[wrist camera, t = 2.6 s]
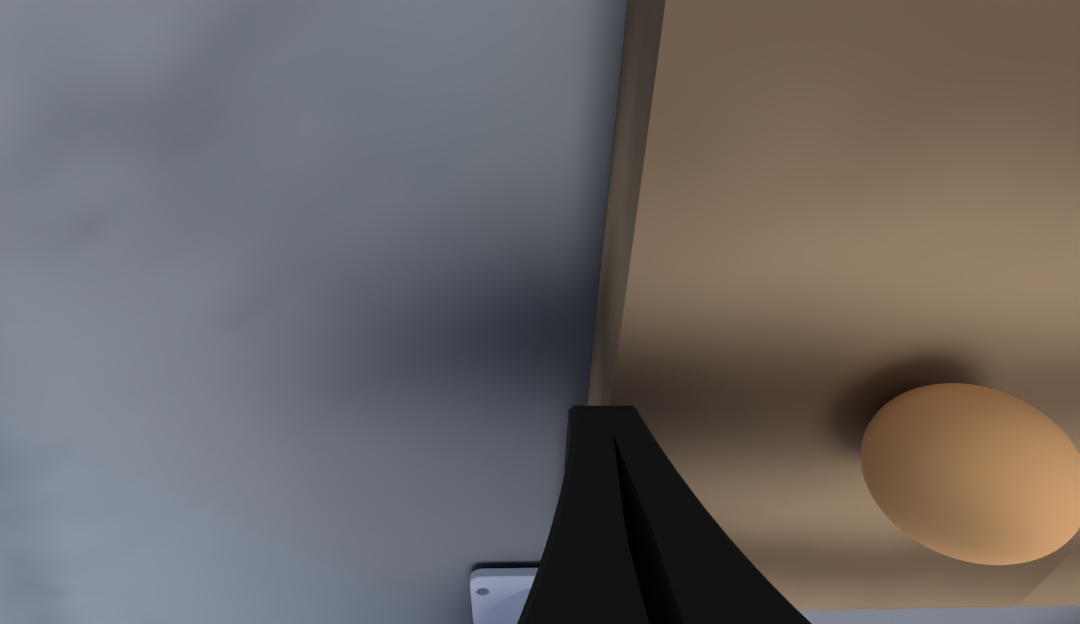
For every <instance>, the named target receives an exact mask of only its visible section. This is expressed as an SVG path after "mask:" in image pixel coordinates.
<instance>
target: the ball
mask: <svg viewBox="0 0 1080 624" xmlns="http://www.w3.org/2000/svg"><path fill="white" fill-rule="evenodd" d="M860 457H861V467H862V472H863V476H864V480H865V482H866V485H867V487H868V489H869V492H870V494H871V496H872V497H873V499H874V500H875V502H876V504H877V505H878V506H879V508H880V509H881V510H882V512H883V513H884V514H885V515H886V516H887V518H888V519H889V520H890V521H892V522H893V523H894V524H895V525H896V526H897V527H898V528H899V529H900V530H901V531H903V532H904V533H905V534H907V535H908V536H909V537H911V538H912V539H914V540H915V541H917V542H919V543H920V544H922V545H924V546H926V547H927V548H929V549H932V550H934V551H936V552H938V553H940V554H943V555H946V556H949V557H952V558H955V559H958V560H962V561H966V562H971V563H976V564H986V565H1010V564H1019V563H1025V562H1029V561H1033V560H1036V559H1039V558H1042V557H1044V556H1047V555H1049V554H1051V553H1052V552H1054V551H1056V550H1058V549H1059V548H1061V547H1062V546H1063V545H1064V544H1065V543H1067V542H1068V541H1069V540H1070V539H1071V538H1072V537H1073V536H1074V535H1075V534H1076V532H1077V531H1078V529H1079V528H1080V454H1079V452H1078V450H1077V449H1076V447H1075V446H1074V444H1073V443H1072V441H1071V440H1070V439H1069V437H1068V436H1067V435H1066V434H1065V433H1064V431H1063V430H1062V429H1061V428H1060V427H1059V426H1058V425H1057V424H1055V423H1054V422H1053V421H1052V420H1051V419H1050V418H1049V417H1047V416H1046V415H1045V414H1044V413H1042V412H1041V411H1039V410H1038V409H1036V408H1035V407H1033V406H1031V405H1030V404H1028V403H1026V402H1024V401H1022V400H1020V399H1018V398H1016V397H1014V396H1012V395H1009V394H1007V393H1004V392H1001V391H998V390H995V389H991V388H987V387H983V386H978V385H971V384H963V383H942V384H933V385H928V386H923V387H919V388H915V389H912V390H909V391H907V392H905V393H902V394H900V395H898V396H897V397H895V398H893V399H892V400H890V401H889V402H888V403H886V404H885V405H884V406H883V407H882V408H881V409H880V410H879V411H878V412H877V413H876V414H875V415H874V417H873V418H872V420H871V421H870V423H869V424H868V426H867V428H866V431H865V433H864V436H863V440H862V445H861V455H860Z"/></svg>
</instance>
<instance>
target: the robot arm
mask: <svg viewBox="0 0 1080 624" xmlns="http://www.w3.org/2000/svg"><path fill="white" fill-rule="evenodd" d="M564 470H565V474H564V479H563V484H562V489H561V493H560V497H559V501H558V505H557V508H556V512H555V515H554V519H553V523H552V526H551V530H550V533H549V537H548V540H547V543H546V546H545V549H544V552H543V555H542V558H541V561H540V564H539V567H538V568H483V569H477V570H475V571H473V572H472V573H471V576H470V593H471V604H472V615H473V624H811V623H810V622H809V621H808V620H807V619H806V618H805V617H804V616H803V615H802V614H801V613H800V612H799V611H798V610H797V609H796V608H795V607H794V606H793V605H792V604H791V603H790V602H789V601H788V600H787V599H786V598H785V597H784V596H783V595H782V594H781V593H780V592H779V591H778V590H777V589H776V588H775V587H774V586H773V585H772V584H771V583H770V582H769V581H768V580H767V579H766V577H765V576H764V575H763V574H762V573H761V572H760V571H759V570H758V569H757V568H756V567H755V566H754V565H753V564H752V562H751V561H750V560H749V559H748V558H747V557H746V556H745V555H744V554H743V552H742V551H741V550H740V549H739V548H738V547H737V546H736V544H735V543H734V542H733V541H732V540H731V539H730V538H729V536H728V535H727V534H726V533H725V532H724V530H723V529H722V528H721V527H720V526H719V524H718V523H717V522H716V521H715V519H714V518H713V517H712V516H711V515H710V513H709V512H708V511H707V510H706V508H705V507H704V506H703V505H702V503H701V502H700V501H699V499H698V498H697V497H696V496H695V494H694V493H693V491H692V490H691V489H690V487H689V486H688V485H687V483H686V482H685V481H684V479H683V478H682V477H681V475H680V474H679V473H678V471H677V470H676V469H675V467H674V466H673V464H672V463H671V461H670V460H669V459H668V457H667V456H666V454H665V453H664V451H663V450H662V448H661V447H660V445H659V444H658V442H657V441H656V439H655V438H654V436H653V435H652V433H651V432H650V430H649V428H648V427H647V425H646V424H645V422H644V420H643V419H642V417H641V415H640V414H639V412H638V410H637V409H636V408H635V407H634V406H633V405H624V406H573V407H572V408H571V409H569V414H568V428H567V441H566V455H565V468H564Z"/></svg>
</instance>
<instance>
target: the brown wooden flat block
mask: <svg viewBox="0 0 1080 624" xmlns="http://www.w3.org/2000/svg"><path fill="white" fill-rule="evenodd" d="M942 383H963V384H971V385H978V386H983V387H987V388H991V389H995V390H998V391H1001V392H1004V393H1007V394H1009V395H1012V396H1014V397H1016V398H1018V399H1020V400H1022V401H1024V402H1026V403H1028V404H1030V405H1031V406H1033V407H1035V408H1036V409H1038V410H1039V411H1041V412H1042V413H1044V414H1045V415H1046V416H1047V417H1049V418H1050V419H1051V420H1052V421H1053V422H1054V423H1055V424H1057V425H1058V426H1059V427H1060V428H1061V429H1062V430H1063V431H1064V433H1065V434H1066V435H1067V436H1068V437H1069V439H1070V440H1071V441H1072V443H1073V444H1074V446H1075V447H1076V449H1077V450H1078V452H1079V454H1080V0H628V6H627V16H626V25H625V35H624V45H623V55H622V65H621V74H620V84H619V94H618V104H617V114H616V124H615V133H614V143H613V153H612V163H611V173H610V183H609V192H608V202H607V212H606V222H605V232H604V242H603V251H602V261H601V271H600V281H599V291H598V301H597V310H596V320H595V330H594V340H593V350H592V359H591V369H590V379H589V389H588V399H587V406H624V405H633V406H634V407H635V408H636V409H637V410H638V412H639V414H640V415H641V417H642V419H643V420H644V422H645V424H646V425H647V427H648V428H649V430H650V432H651V433H652V435H653V436H654V438H655V439H656V441H657V442H658V444H659V445H660V447H661V448H662V450H663V451H664V453H665V454H666V456H667V457H668V459H669V460H670V461H671V463H672V464H673V466H674V467H675V469H676V470H677V471H678V473H679V474H680V475H681V477H682V478H683V479H684V481H685V482H686V483H687V485H688V486H689V487H690V489H691V490H692V491H693V493H694V494H695V496H696V497H697V498H698V499H699V501H700V502H701V503H702V505H703V506H704V507H705V508H706V510H707V511H708V512H709V513H710V515H711V516H712V517H713V518H714V519H715V521H716V522H717V523H718V524H719V526H720V527H721V528H722V529H723V530H724V532H725V533H726V534H727V535H728V536H729V538H730V539H731V540H732V541H733V542H734V543H735V544H736V546H737V547H738V548H739V549H740V550H741V551H742V552H743V554H744V555H745V556H746V557H747V558H748V559H749V560H750V561H751V562H752V564H753V565H754V566H755V567H756V568H757V569H758V570H759V571H760V572H761V573H762V574H763V575H764V576H765V577H766V579H767V580H768V581H769V582H770V583H771V584H772V585H773V586H774V587H775V588H776V589H777V590H778V591H779V592H780V593H781V594H782V595H783V596H784V597H785V598H786V599H787V600H788V601H789V602H790V603H791V604H792V605H793V606H794V607H795V608H796V609H797V610H852V609H906V608H960V607H1014V606H1068V605H1080V528H1079V529H1078V531H1077V532H1076V534H1075V535H1074V536H1073V537H1072V538H1071V539H1070V540H1069V541H1068V542H1067V543H1065V544H1064V545H1063V546H1062V547H1061V548H1059V549H1058V550H1056V551H1054V552H1052V553H1051V554H1049V555H1047V556H1044V557H1042V558H1039V559H1036V560H1033V561H1029V562H1025V563H1019V564H1010V565H986V564H976V563H971V562H966V561H962V560H958V559H955V558H952V557H949V556H946V555H943V554H940V553H938V552H936V551H934V550H932V549H929V548H927V547H926V546H924V545H922V544H920V543H919V542H917V541H915V540H914V539H912V538H911V537H909V536H908V535H907V534H905V533H904V532H903V531H901V530H900V529H899V528H898V527H897V526H896V525H895V524H894V523H893V522H892V521H890V520H889V519H888V518H887V516H886V515H885V514H884V513H883V512H882V510H881V509H880V508H879V506H878V505H877V504H876V502H875V500H874V499H873V497H872V496H871V494H870V492H869V489H868V487H867V485H866V482H865V480H864V476H863V472H862V467H861V457H860V455H861V445H862V440H863V436H864V433H865V431H866V428H867V426H868V424H869V423H870V421H871V420H872V418H873V417H874V415H875V414H876V413H877V412H878V411H879V410H880V409H881V408H882V407H883V406H884V405H885V404H886V403H888V402H889V401H890V400H892V399H893V398H895V397H897V396H898V395H900V394H902V393H905V392H907V391H909V390H912V389H915V388H919V387H923V386H928V385H933V384H942Z"/></svg>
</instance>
